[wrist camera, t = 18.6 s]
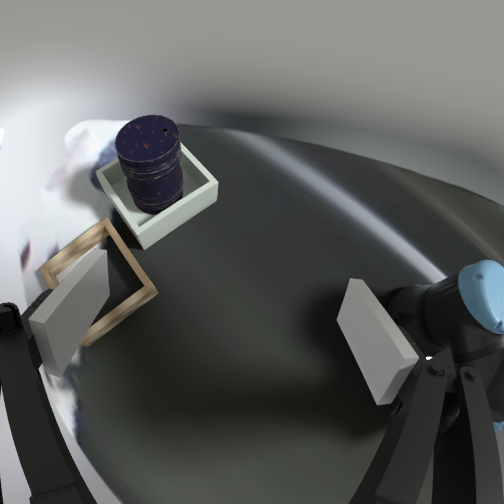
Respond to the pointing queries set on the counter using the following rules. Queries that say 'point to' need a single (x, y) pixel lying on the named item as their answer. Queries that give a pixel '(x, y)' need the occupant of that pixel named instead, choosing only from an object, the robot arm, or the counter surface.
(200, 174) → the sage bin
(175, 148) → the navy cylindrical canister
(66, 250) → the oak collar
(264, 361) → the counter surface
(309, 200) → the counter surface
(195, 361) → the counter surface
